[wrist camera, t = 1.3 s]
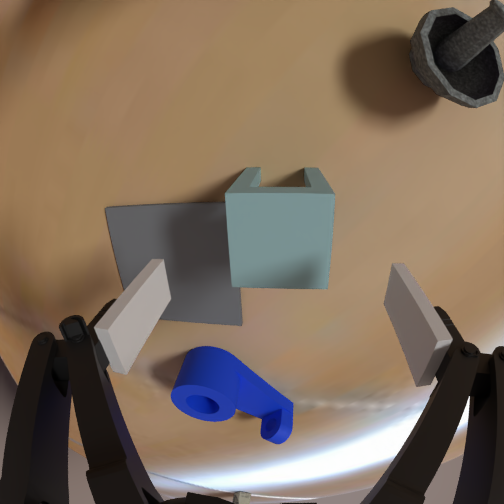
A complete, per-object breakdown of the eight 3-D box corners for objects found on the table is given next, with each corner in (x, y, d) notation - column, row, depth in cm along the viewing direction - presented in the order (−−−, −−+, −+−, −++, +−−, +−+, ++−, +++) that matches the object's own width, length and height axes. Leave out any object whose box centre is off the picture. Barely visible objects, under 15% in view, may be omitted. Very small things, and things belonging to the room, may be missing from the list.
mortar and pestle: (449, 123, 23) (520, 135, 13) (381, 72, 22) (435, 49, 12) (479, 53, 18) (545, 42, 8) (416, 2, 18) (468, -37, 7)
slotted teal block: (246, 167, 29) (224, 193, 19) (318, 167, 28) (335, 194, 18) (249, 233, 32) (231, 287, 22) (316, 234, 31) (327, 289, 21)
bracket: (175, 362, 43) (160, 398, 36) (207, 335, 39) (192, 375, 33) (265, 415, 47) (261, 450, 40) (302, 397, 43) (302, 435, 37)
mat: (107, 206, 32) (104, 208, 32) (234, 201, 30) (233, 203, 30) (133, 313, 39) (132, 316, 39) (242, 322, 37) (241, 325, 37)
